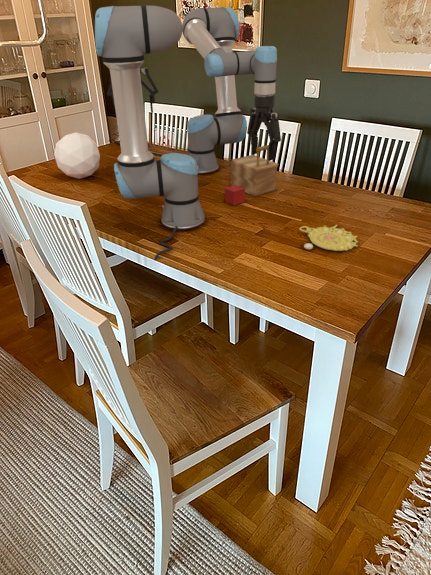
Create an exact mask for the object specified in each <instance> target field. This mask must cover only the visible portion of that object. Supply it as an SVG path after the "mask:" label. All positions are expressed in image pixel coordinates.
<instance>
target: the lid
mask: <svg viewBox="0 0 431 575" xmlns="http://www.w3.org/2000/svg"><path fill="white" fill-rule="evenodd" d="M256 151H257V154H253V155H252V154H250V155H246V156H241V157H237V158H233V159H231V161H230V162H233V163H235V164H238V165H240V166H243V167H245V168H248V169H250V170H253V171H255V172H257V171H261V170H265V169H269V168H273V167H277V168H278V167H279V163H277V162H274V161H273V160H271V161H269V160H268V155H269V144H267V145H262V146H258V147H257V148H256ZM262 151H266V158H263V157H261V156H260V152H262Z"/></svg>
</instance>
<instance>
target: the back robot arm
mask: <svg viewBox="0 0 431 575" xmlns="http://www.w3.org/2000/svg"><path fill="white" fill-rule="evenodd" d="M239 23H240V22H239V18H238V14H237V12H236V11H235V10H234V9H233V8H232V7H224V6H219V7H197V8H195V9H192V10H190V11H189V12H188V13H187V14H186V15H185V17H184V19H183V21H182V35H183V38H184V39H185V40H186V42H187V43H189V44H190V45H193V46H194V48H195V50H196V51H197V52H198V53H199V55H200V56H201V57H202V59H203V60H204V64H203V65H204V71H205V74H206V75H207V76H208V77H209V78H214V82H215V92H216V93H215V94H216V102H217V110H216V111H215V113H214V116H215V117H214V116H213V115H212V114H199V115H196V116H193V117H191V118H189V119H188V120H187V122H186V126H187V127H186V132H187V133H186V134H187V144H188V145H187V146H188V148H187V149H188V154H187V155H188V156H191V157H192V158H194V159H195V161H196V163H197V171H198V174H197V175H210V174H214V173H216V172H217V171H219V168H220V167H219V166H220V165H219V162H218V159H217V156H216V153H215V146H221V145H222V146H223V145H231V144H236V143H241V142H243V141H244V139H245V137H246V135H249V136H250V146H251V147H250V148H251V149H250V150H251V151H250V155H257V151H256V148H257V147H259V136H258V135H259V134H258V133H259V130H260V128H261V126H262V124H264V126H265V128H266V131H267V135H268V138H269V142H268V145H269V155H268V160H269V161H275V160H276V152H277V143H280V142H281V141H282V136H281V128H280V120H279V119H280V113H279V112H274V107H275V106H276V95H275V94H276V83H277V82H276V81H277V64H278V48H277V47H276V46H274V45H262V46H257V47H256V48H255V50H254V49H251V50H245V51H233V47H234V45H235V44H236V39H238V37H239V35H240V24H239ZM244 75H254V87H253V88H254V91H253V94H254V97H253V98H254V99H253V106H254V108H250V109H249V121H248V122H247V118H246V116H245V115H244V114H242V110H241V109H240V108H239V106H238V101H237V90H236V77H235V76H244ZM247 123H248V124H247ZM111 141H113V142H114V143H116V144H118V145H119V146H120V141H116V140H115V139H114V138H109V139H108V142H111ZM151 153H152V154H153V155H154V156H160V157H161V156H162V155H163V154H162V153H156V152H151Z"/></svg>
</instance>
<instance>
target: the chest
mask: <svg viewBox="0 0 431 575" xmlns="http://www.w3.org/2000/svg"><path fill="white" fill-rule="evenodd" d="M230 162H231V161H230ZM230 166H231V167H230V168H231V173H230V174H231V177H230V178H231V186H233V185H238V186H240V187H243V188H245V194H249V195H251V196H253V197H258V196H260V195H263V194H268V193H270V192H274V191H276V190H277V187H276V186H277V172H278V171H277V170H278V166H277V167H273V168H269V169H265V170H261V171H257V172H255V171H253V170H250V169H248V168H245V167H243V166H240V165H238V164H235V163H233V162H231V165H230Z"/></svg>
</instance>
